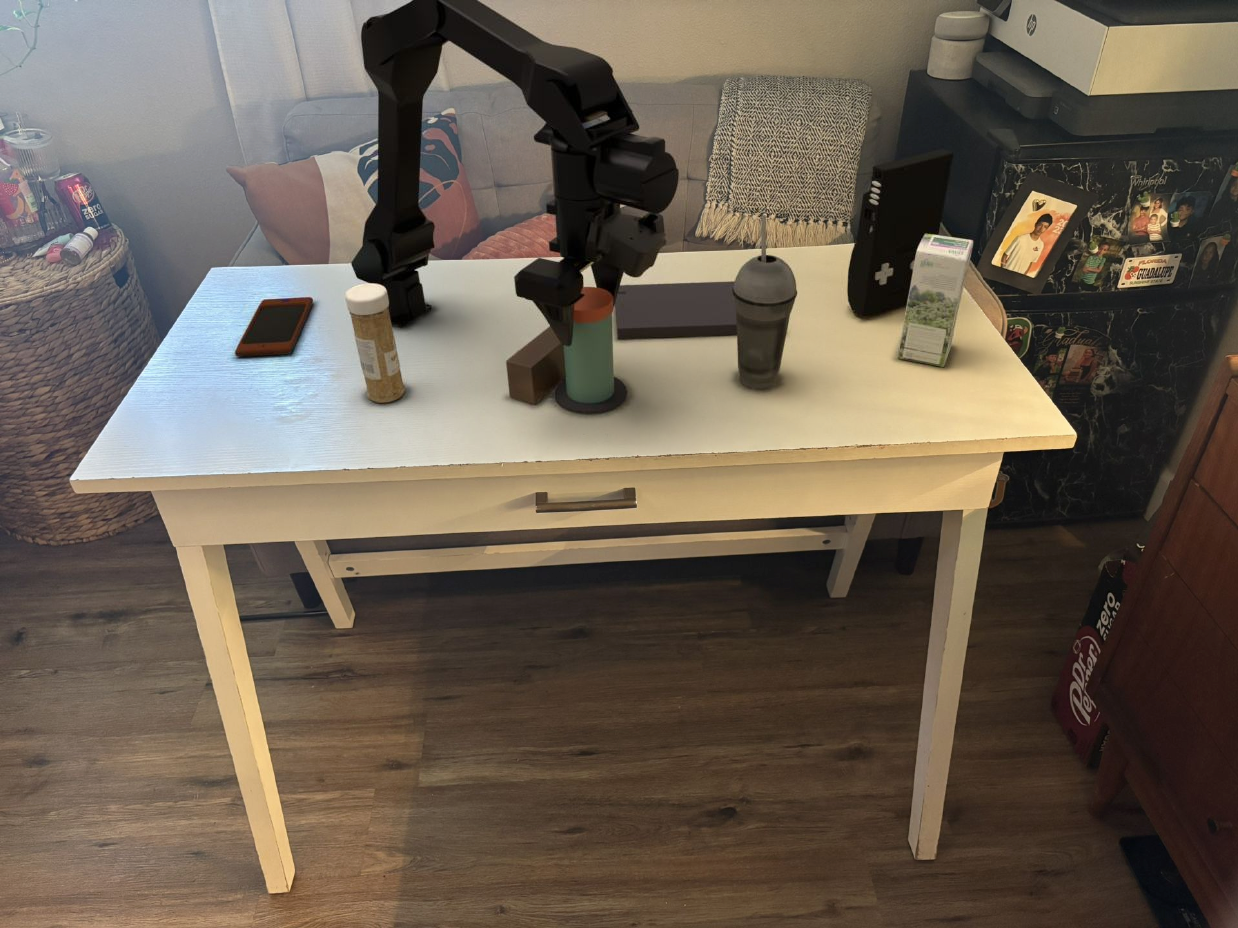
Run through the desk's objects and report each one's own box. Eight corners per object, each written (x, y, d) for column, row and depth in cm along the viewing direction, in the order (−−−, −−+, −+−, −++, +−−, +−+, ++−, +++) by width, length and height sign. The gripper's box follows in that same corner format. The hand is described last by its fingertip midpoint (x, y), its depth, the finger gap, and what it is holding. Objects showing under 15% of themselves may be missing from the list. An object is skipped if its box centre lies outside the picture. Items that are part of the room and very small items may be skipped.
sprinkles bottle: (411, 396, 110) (392, 292, 102) (375, 408, 108) (353, 303, 100) (396, 380, 113) (377, 278, 105) (360, 391, 111) (338, 288, 103)
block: (509, 397, 110) (505, 360, 107) (554, 359, 117) (552, 324, 114) (534, 405, 108) (531, 367, 105) (578, 366, 115) (576, 330, 112)
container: (509, 339, 107) (570, 284, 99) (537, 318, 112) (598, 263, 103) (578, 422, 109) (644, 375, 100) (603, 398, 113) (669, 351, 105)
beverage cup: (749, 401, 108) (761, 237, 96) (715, 373, 113) (722, 214, 101) (801, 385, 110) (818, 223, 98) (765, 358, 116) (778, 202, 104)
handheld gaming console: (863, 322, 123) (885, 172, 111) (840, 309, 126) (859, 161, 114) (930, 300, 127) (958, 153, 116) (906, 287, 131) (931, 144, 119)
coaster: (540, 403, 108) (540, 400, 108) (578, 369, 114) (578, 366, 114) (604, 421, 105) (604, 418, 105) (640, 386, 111) (640, 383, 111)
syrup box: (951, 347, 117) (975, 237, 108) (943, 369, 113) (967, 257, 104) (905, 338, 119) (925, 230, 110) (896, 360, 115) (915, 249, 106)
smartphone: (312, 295, 130) (289, 348, 118) (314, 301, 131) (291, 354, 119) (261, 298, 130) (233, 351, 118) (263, 304, 130) (235, 357, 118)
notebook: (617, 339, 120) (781, 333, 121) (617, 328, 119) (782, 322, 120) (614, 295, 131) (765, 290, 131) (614, 285, 130) (766, 279, 130)
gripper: (605, 237, 85) (609, 383, 95) (692, 174, 99) (688, 307, 108) (504, 217, 90) (518, 358, 99) (600, 159, 103) (605, 288, 112)
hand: (588, 327), depth 104 cm, fingers open, 9 cm apart
